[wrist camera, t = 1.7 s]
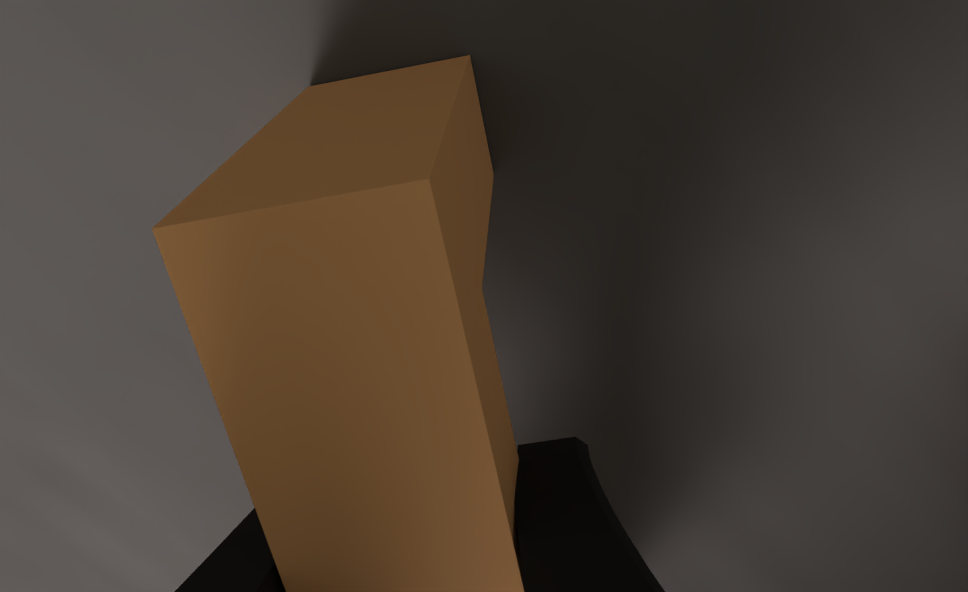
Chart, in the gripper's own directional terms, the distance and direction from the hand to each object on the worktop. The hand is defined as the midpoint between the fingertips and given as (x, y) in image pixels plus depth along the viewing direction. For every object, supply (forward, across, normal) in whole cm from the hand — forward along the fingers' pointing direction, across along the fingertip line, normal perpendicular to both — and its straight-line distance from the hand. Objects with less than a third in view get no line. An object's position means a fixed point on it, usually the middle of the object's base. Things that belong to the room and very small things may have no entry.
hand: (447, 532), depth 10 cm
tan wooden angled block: (+3, 0, 0) cm, 3 cm away
